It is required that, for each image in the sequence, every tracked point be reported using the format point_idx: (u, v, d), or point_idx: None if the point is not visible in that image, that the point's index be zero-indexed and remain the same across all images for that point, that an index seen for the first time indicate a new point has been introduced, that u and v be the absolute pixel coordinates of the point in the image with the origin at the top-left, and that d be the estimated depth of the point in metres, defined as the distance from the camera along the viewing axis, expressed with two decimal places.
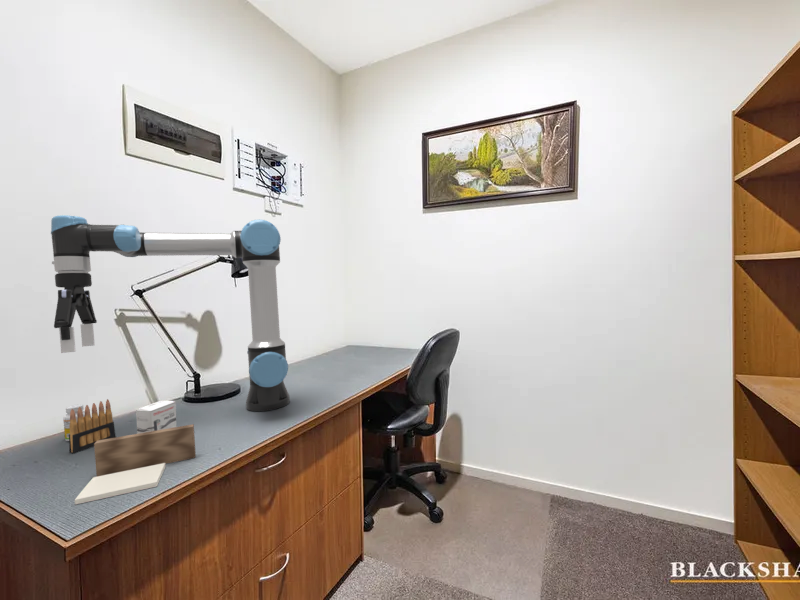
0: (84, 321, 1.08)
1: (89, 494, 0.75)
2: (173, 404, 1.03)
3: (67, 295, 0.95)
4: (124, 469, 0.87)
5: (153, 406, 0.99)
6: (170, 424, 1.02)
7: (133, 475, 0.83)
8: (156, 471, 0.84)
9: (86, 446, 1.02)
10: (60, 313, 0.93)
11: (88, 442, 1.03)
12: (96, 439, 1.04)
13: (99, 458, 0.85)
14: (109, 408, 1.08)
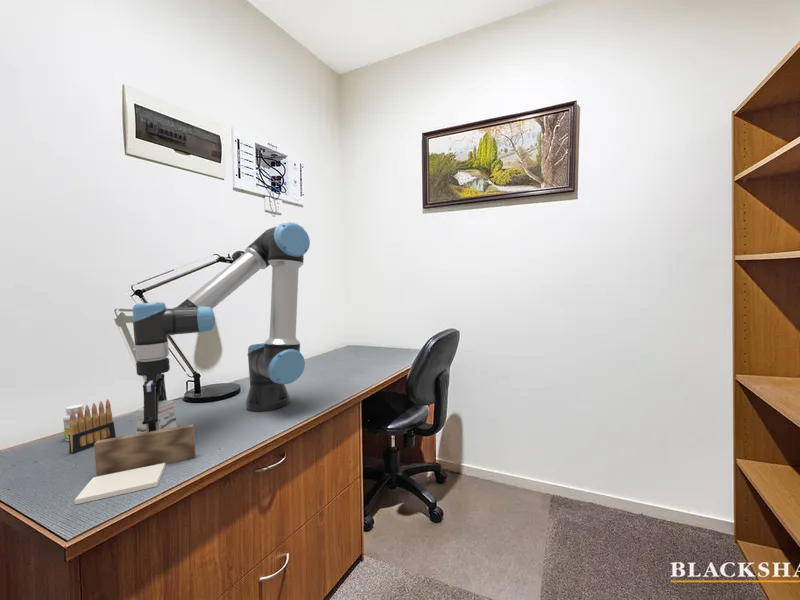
0: None
1: (89, 494, 0.75)
2: (173, 404, 1.03)
3: (152, 390, 0.94)
4: (124, 469, 0.87)
5: None
6: (170, 424, 1.02)
7: (133, 475, 0.83)
8: (156, 471, 0.84)
9: (86, 446, 1.02)
10: (148, 410, 0.93)
11: (88, 442, 1.03)
12: (96, 439, 1.04)
13: (99, 458, 0.85)
14: (109, 408, 1.08)
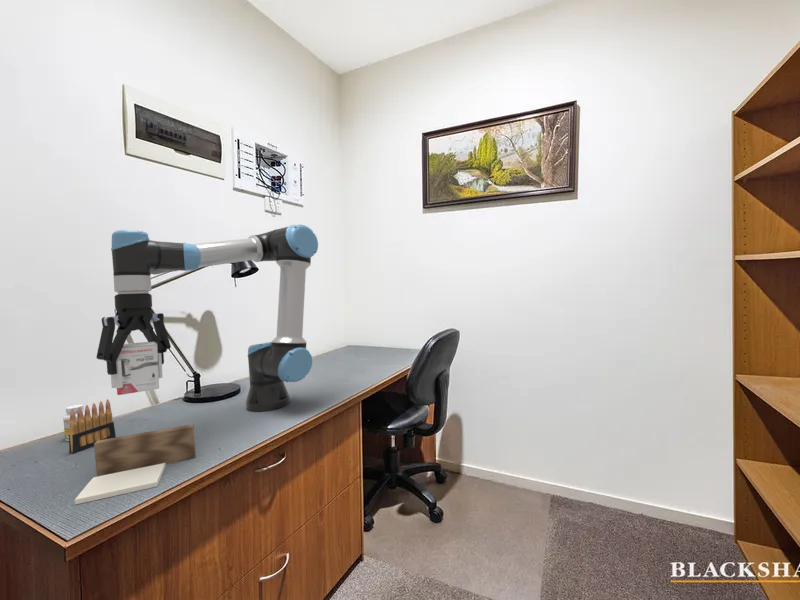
0: None
1: (89, 494, 0.75)
2: (152, 346, 0.91)
3: (107, 324, 0.85)
4: (124, 469, 0.87)
5: (129, 344, 0.90)
6: (147, 367, 0.91)
7: (133, 475, 0.83)
8: (156, 471, 0.84)
9: (86, 446, 1.02)
10: (101, 345, 0.84)
11: (88, 442, 1.03)
12: (96, 439, 1.04)
13: (99, 458, 0.85)
14: (109, 408, 1.08)
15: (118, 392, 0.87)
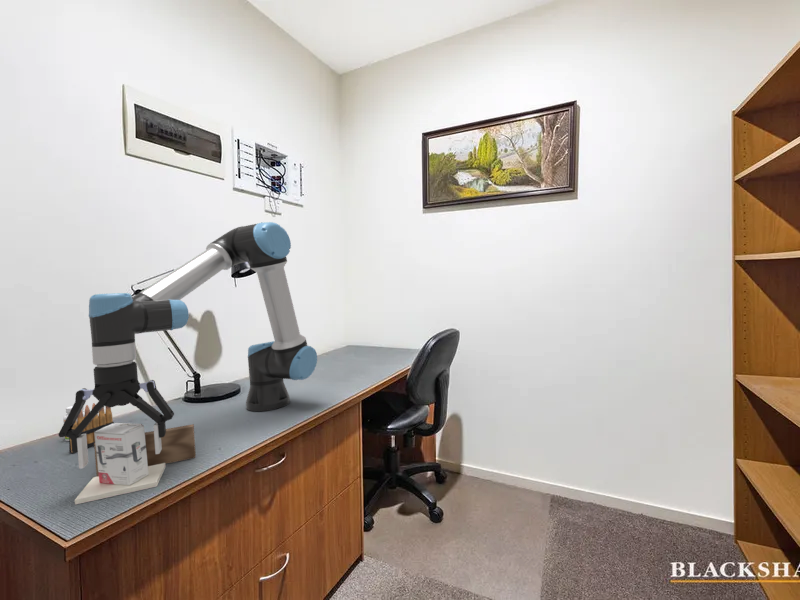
0: None
1: (89, 494, 0.75)
2: (121, 435, 0.78)
3: None
4: None
5: (112, 427, 0.80)
6: (118, 459, 0.78)
7: None
8: (156, 471, 0.84)
9: None
10: None
11: (88, 442, 1.03)
12: None
13: None
14: (109, 408, 1.08)
15: (99, 480, 0.80)
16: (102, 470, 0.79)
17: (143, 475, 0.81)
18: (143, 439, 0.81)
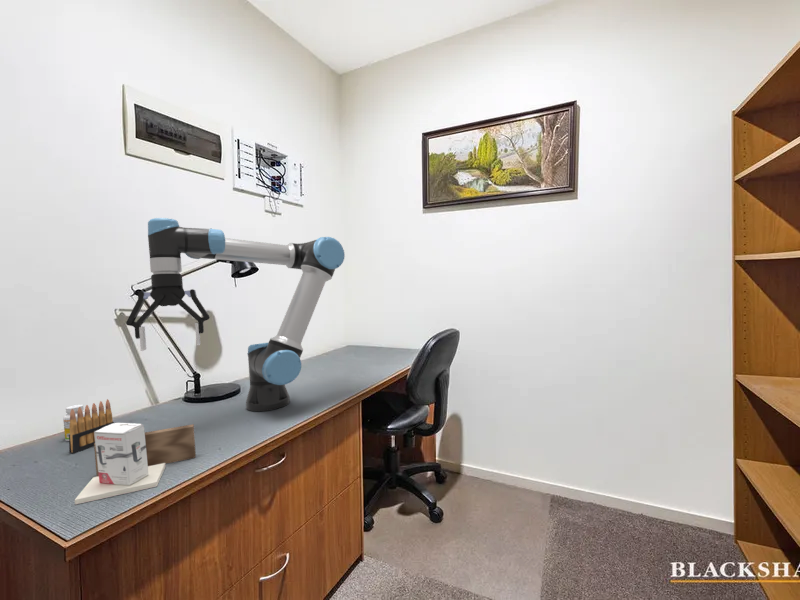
0: None
1: (89, 494, 0.75)
2: (121, 435, 0.77)
3: None
4: None
5: (112, 427, 0.80)
6: (118, 459, 0.78)
7: None
8: (156, 471, 0.84)
9: (86, 446, 1.02)
10: None
11: (88, 442, 1.03)
12: None
13: None
14: (109, 408, 1.08)
15: (99, 480, 0.80)
16: (102, 470, 0.79)
17: (143, 475, 0.81)
18: (143, 439, 0.81)
